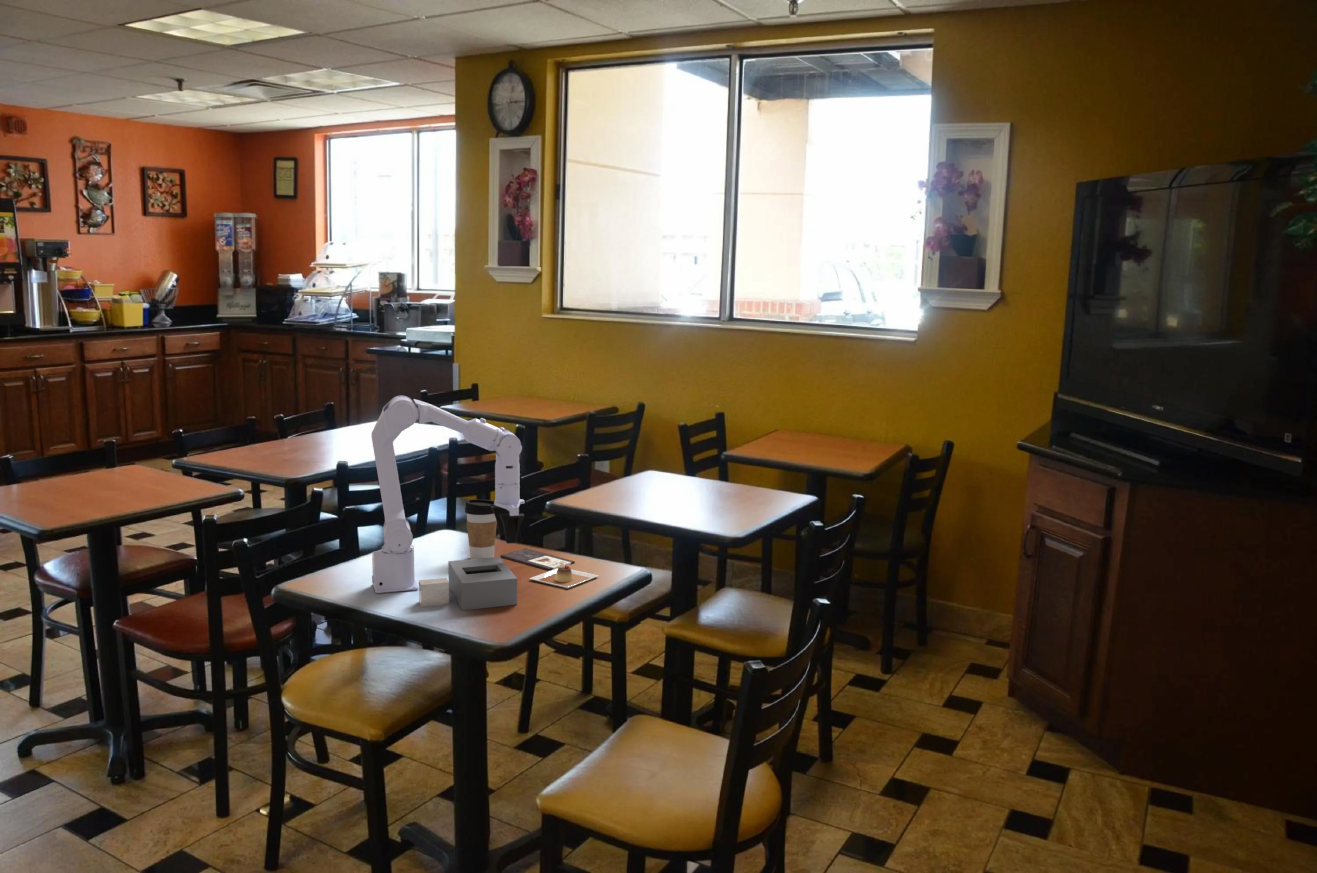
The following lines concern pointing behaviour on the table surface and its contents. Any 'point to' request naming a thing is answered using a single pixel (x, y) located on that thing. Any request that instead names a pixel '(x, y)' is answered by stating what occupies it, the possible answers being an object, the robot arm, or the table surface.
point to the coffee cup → (481, 528)
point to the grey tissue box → (482, 583)
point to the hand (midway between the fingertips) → (507, 538)
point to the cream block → (433, 592)
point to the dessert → (563, 575)
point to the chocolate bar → (536, 559)
